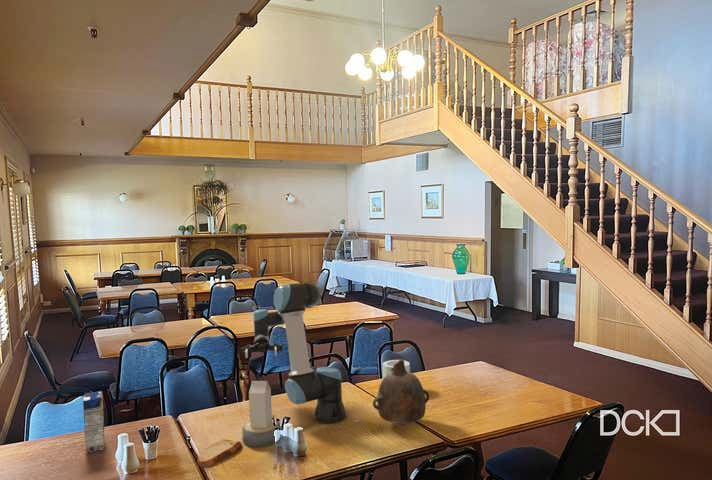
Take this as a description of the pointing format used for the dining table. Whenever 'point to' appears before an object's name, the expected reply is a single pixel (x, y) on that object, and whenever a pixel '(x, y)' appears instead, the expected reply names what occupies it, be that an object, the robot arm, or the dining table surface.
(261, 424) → the milk carton
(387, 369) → the container
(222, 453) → the slice of bread
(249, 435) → the podium
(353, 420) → the dining table surface
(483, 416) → the dining table surface
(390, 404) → the jug
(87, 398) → the beverage box
